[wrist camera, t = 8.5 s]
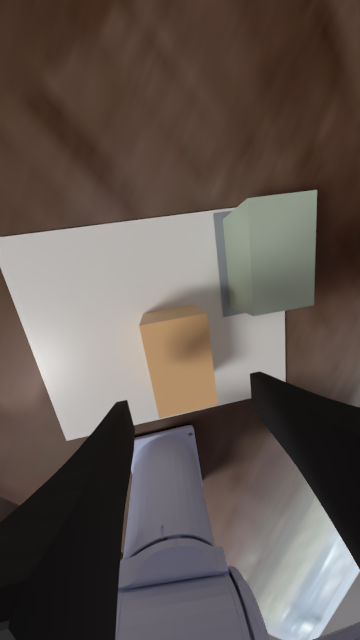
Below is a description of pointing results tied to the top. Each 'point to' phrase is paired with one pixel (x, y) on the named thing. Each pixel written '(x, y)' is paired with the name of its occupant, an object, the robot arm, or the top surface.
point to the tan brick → (179, 359)
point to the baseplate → (130, 311)
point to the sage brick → (271, 252)
